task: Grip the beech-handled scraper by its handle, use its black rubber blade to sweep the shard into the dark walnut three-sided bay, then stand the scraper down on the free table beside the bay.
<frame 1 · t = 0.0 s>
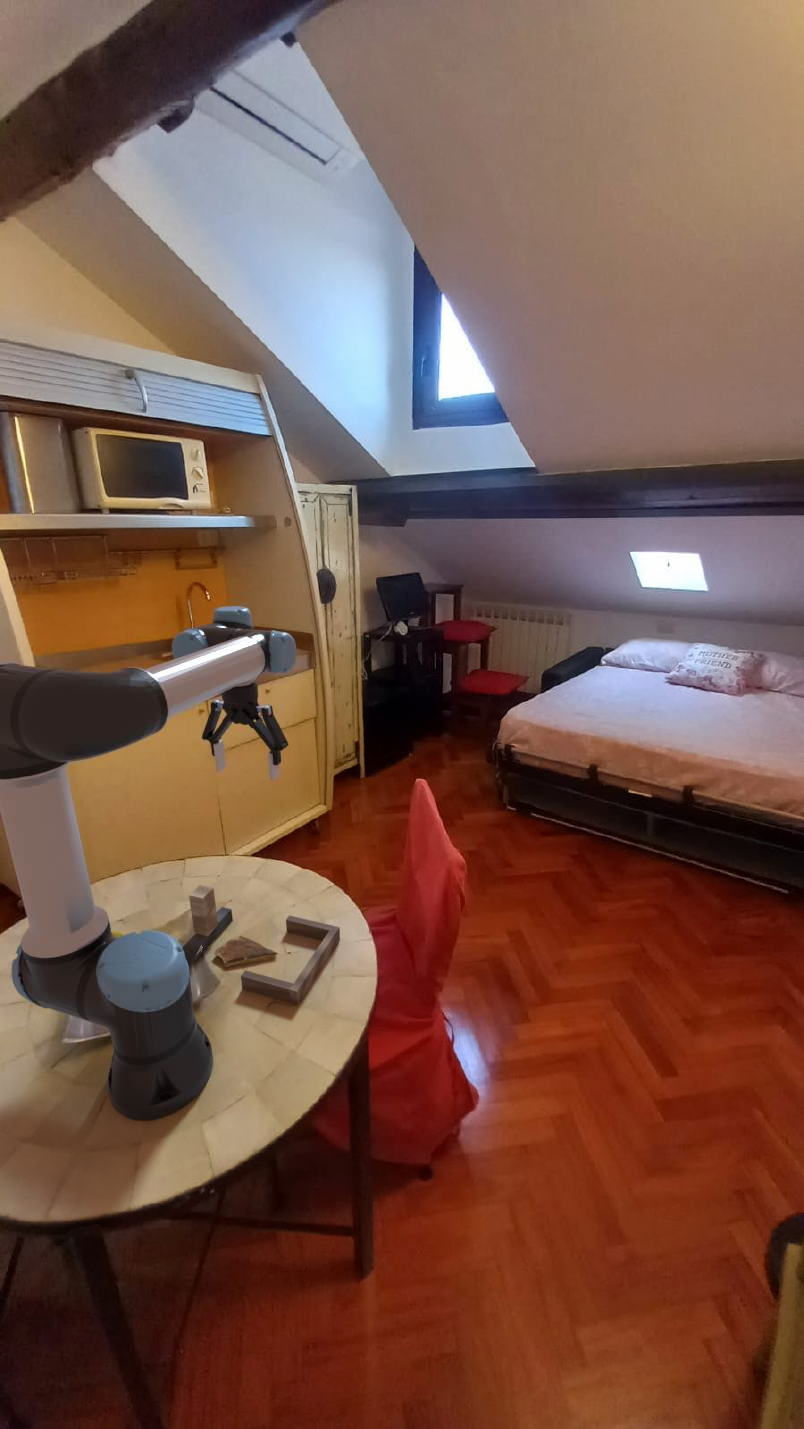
hand: (247, 773, 132), 28 cm above the table, tool pointing down, fingers open, 13 cm apart
shard: (246, 953, 119), on the table
scraper: (208, 940, 122), on the table
lemon: (117, 968, 115), on the table
walnut bay: (294, 963, 116), on the table
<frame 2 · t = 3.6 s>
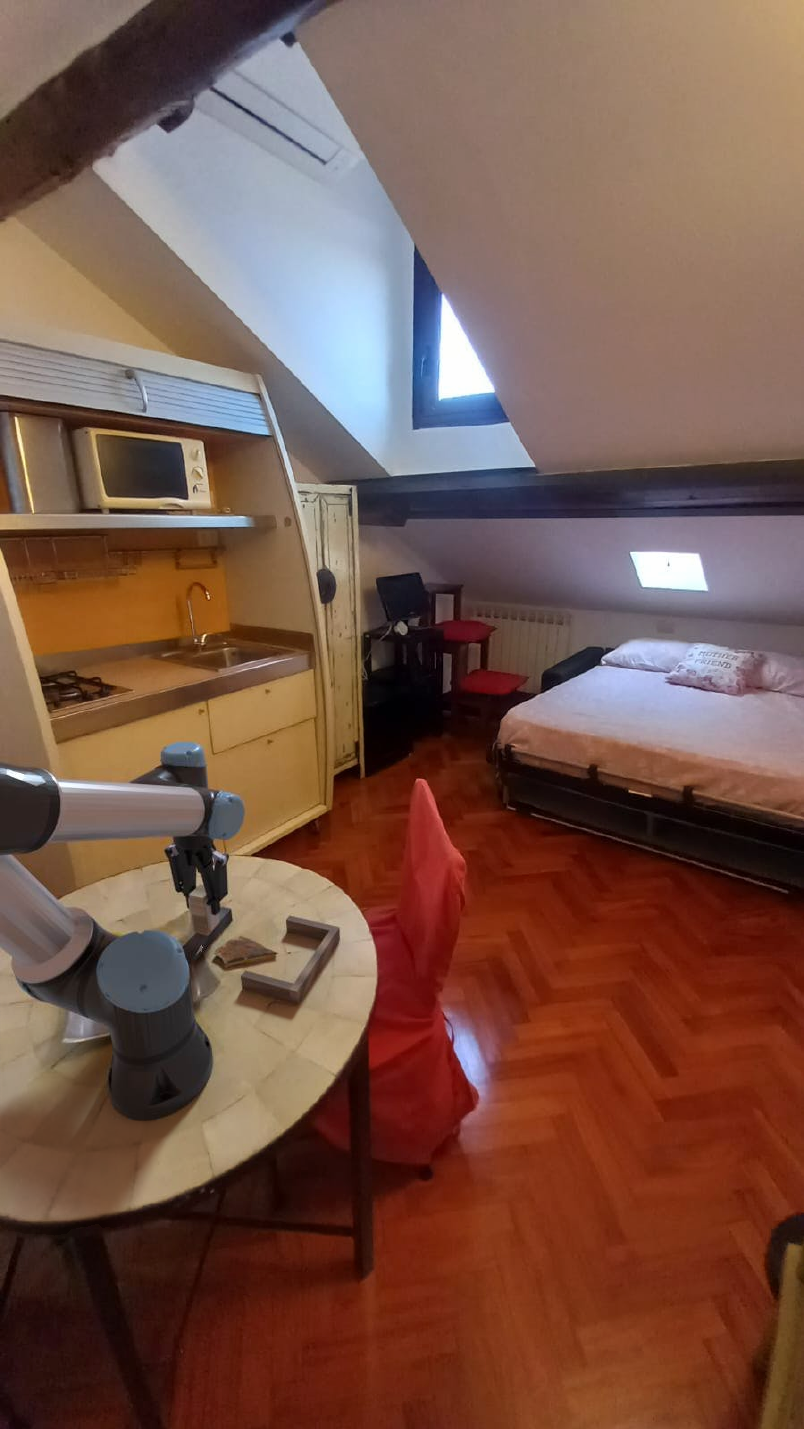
hand: (205, 923, 120), 4 cm above the table, tool pointing down, fingers closed on scraper, 3 cm apart
scraper: (208, 940, 122), on the table, touching gripper
everything else where it was.
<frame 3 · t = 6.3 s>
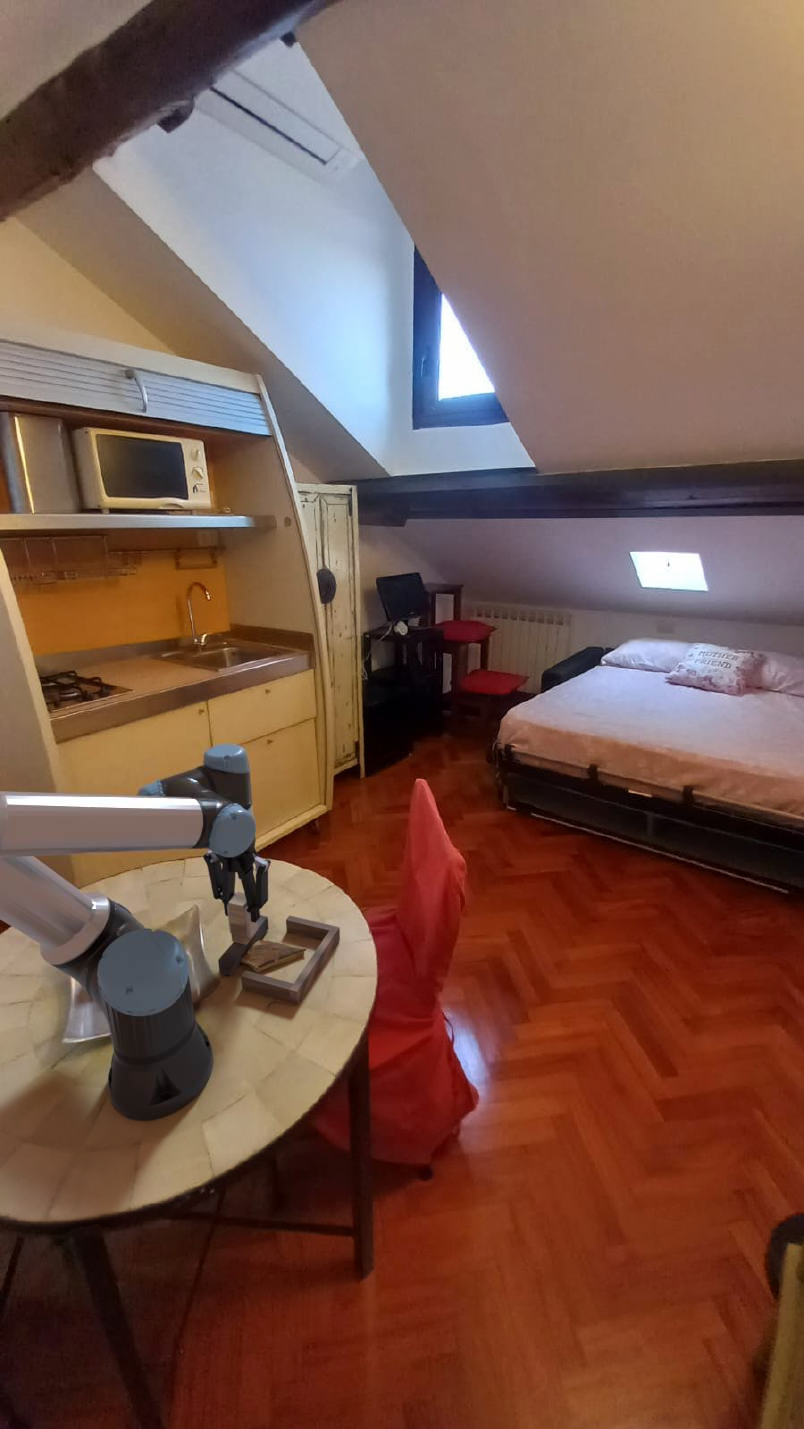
hand: (244, 931, 117), 5 cm above the table, tool pointing down, fingers closed on scraper, 3 cm apart
shard: (271, 955, 118), on the table
scraper: (245, 949, 119), on the table, touching gripper
everything else where it was.
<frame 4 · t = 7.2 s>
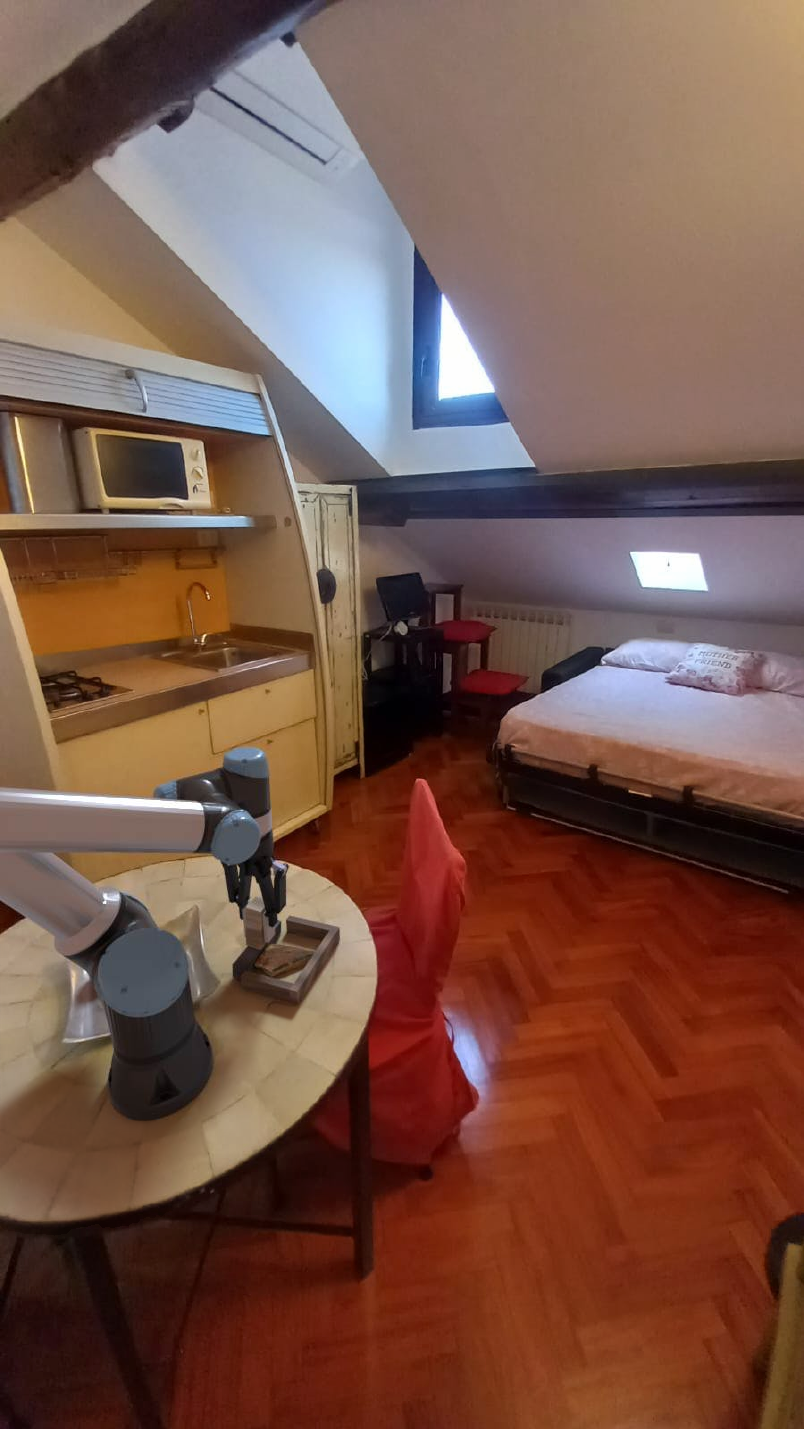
hand: (260, 935, 116), 5 cm above the table, tool pointing down, fingers closed on scraper, 4 cm apart
shard: (284, 959, 117), on the table, touching scraper, walnut bay
scraper: (258, 953, 118), on the table, tilted 5°, touching shard, gripper
everything else where it was.
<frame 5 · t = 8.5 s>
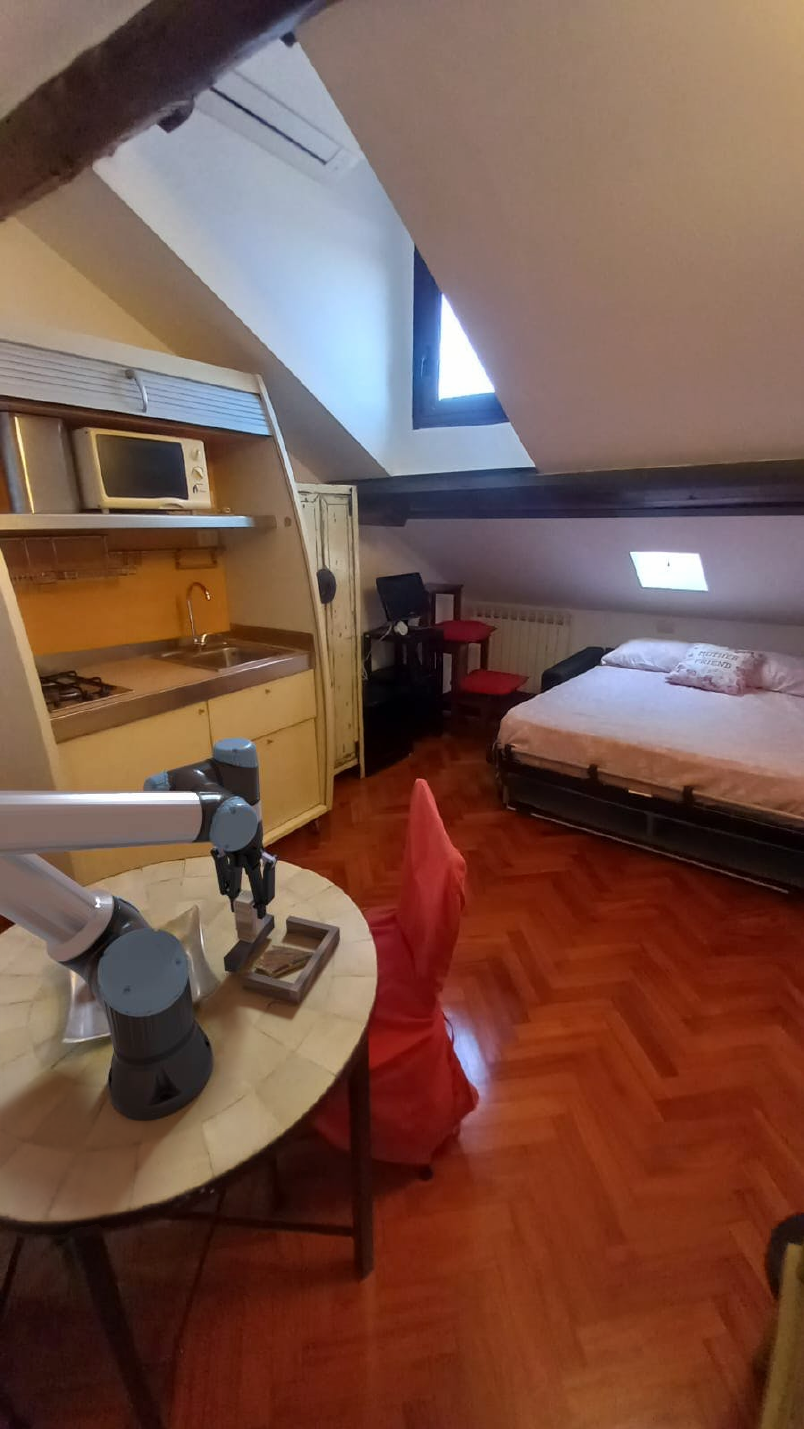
hand: (250, 928, 116), 6 cm above the table, tool pointing down, fingers closed on scraper, 3 cm apart
shard: (284, 960, 117), on the table
scraper: (251, 948, 117), point 2 cm above the table, touching gripper
everything else where it was.
when the fingers open (6 cm above the table, at t = 12.2 s): scraper drops 1 cm, on the table.
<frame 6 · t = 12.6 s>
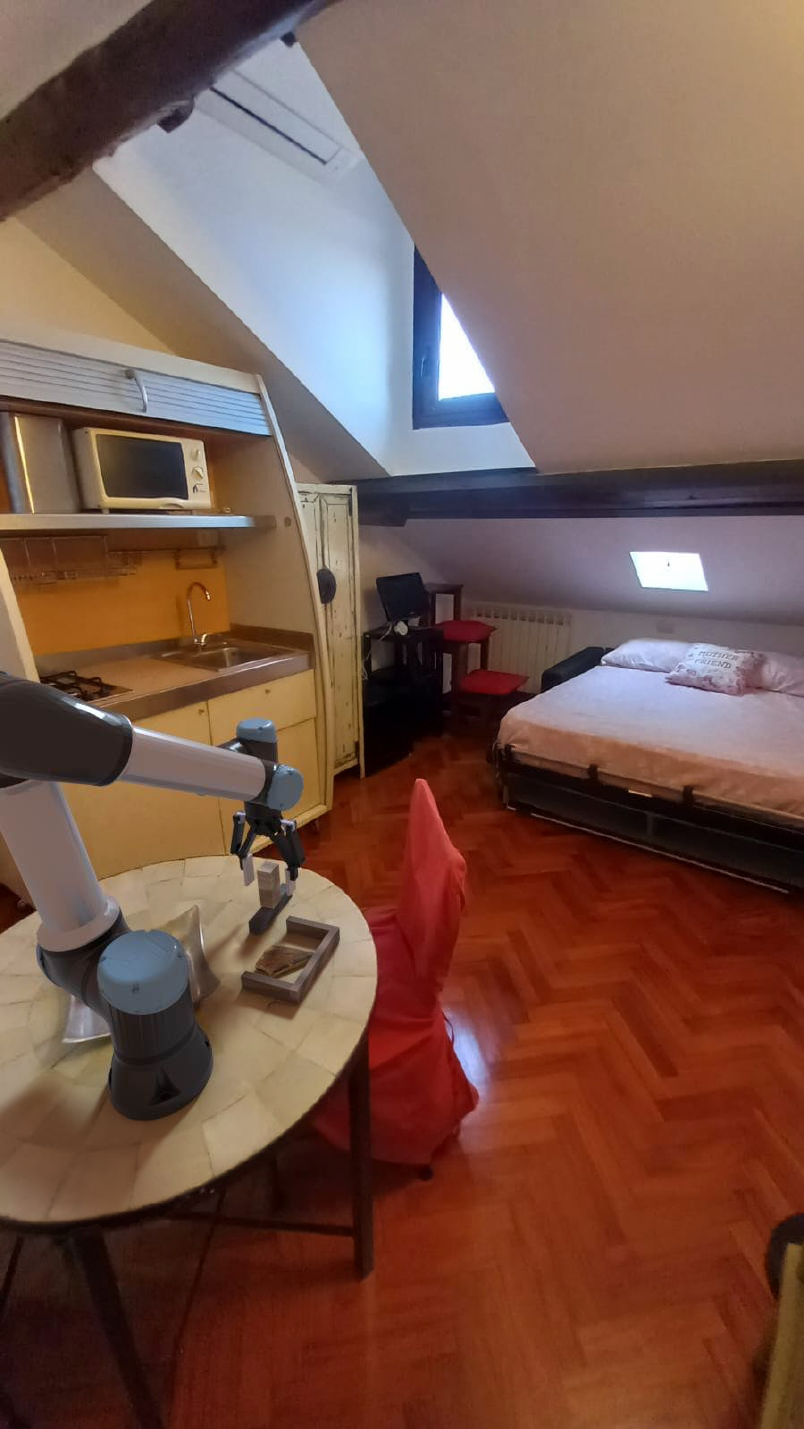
hand: (270, 887, 128), 7 cm above the table, tool pointing down, fingers open, 9 cm apart
scraper: (272, 913, 130), on the table
everything else where it was.
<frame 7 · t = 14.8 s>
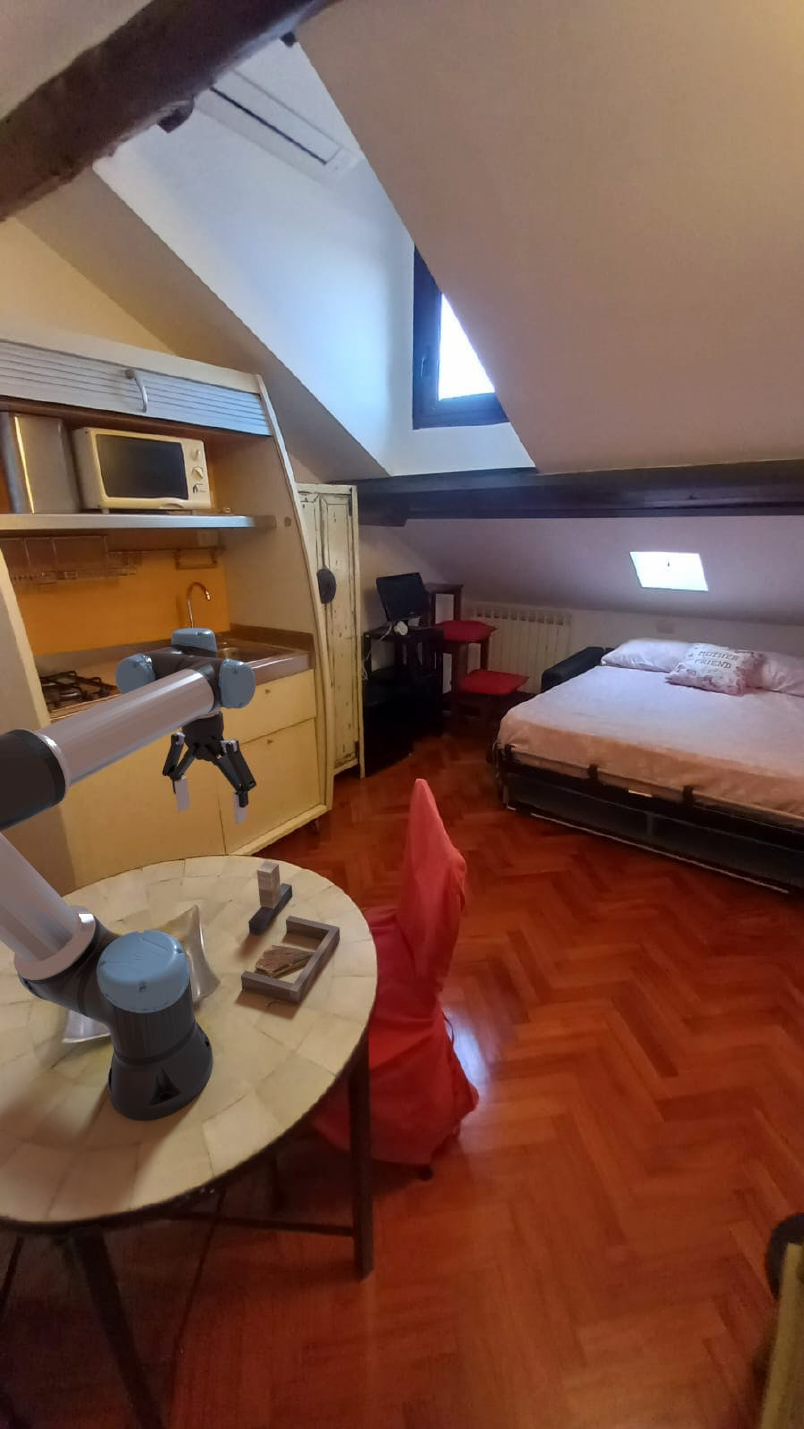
hand: (212, 815, 117), 27 cm above the table, tool pointing down, fingers open, 13 cm apart
nothing on the table moved.
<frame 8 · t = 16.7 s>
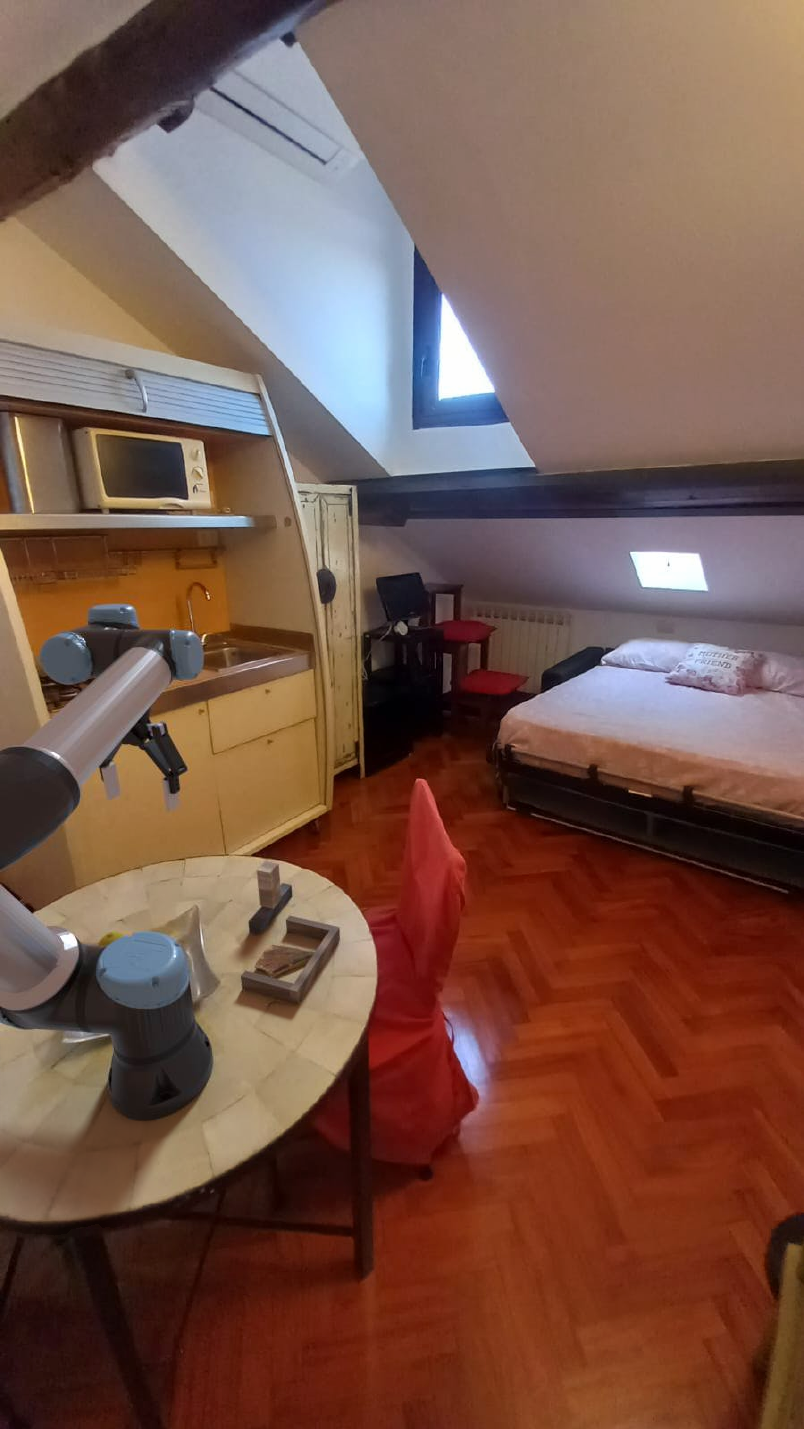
hand: (143, 802, 111), 32 cm above the table, tool pointing down, fingers open, 13 cm apart
nothing on the table moved.
at the end: shard inside the target area on the walnut bay (3.5 cm from its centre), point -0.7 cm above the walnut bay's base; scraper inside the target area (0.3 cm from its centre), on the table; the gripper is holding nothing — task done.
